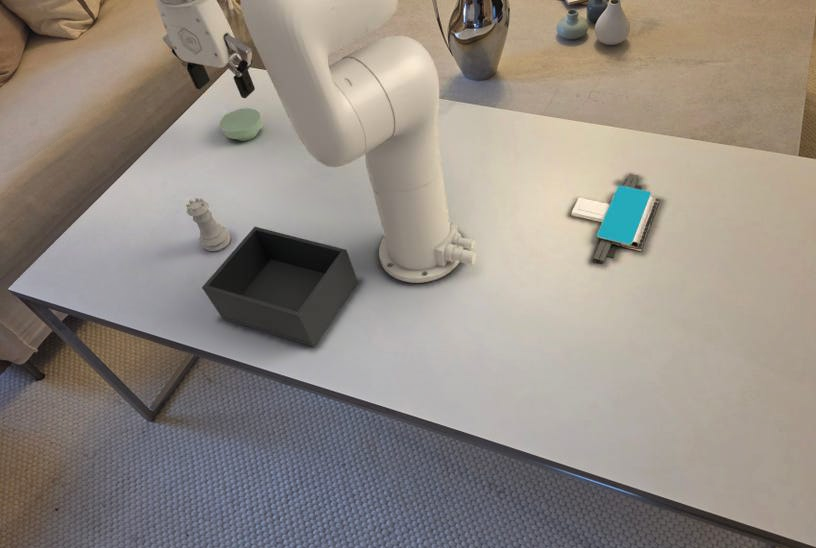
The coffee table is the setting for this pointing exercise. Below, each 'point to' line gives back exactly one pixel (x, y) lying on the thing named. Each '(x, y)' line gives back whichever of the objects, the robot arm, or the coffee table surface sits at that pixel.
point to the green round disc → (241, 124)
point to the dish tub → (282, 285)
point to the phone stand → (620, 218)
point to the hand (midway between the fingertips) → (225, 89)
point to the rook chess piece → (208, 226)
